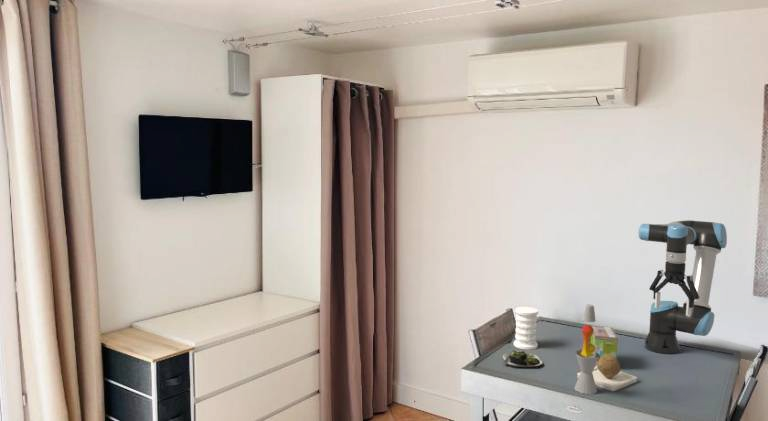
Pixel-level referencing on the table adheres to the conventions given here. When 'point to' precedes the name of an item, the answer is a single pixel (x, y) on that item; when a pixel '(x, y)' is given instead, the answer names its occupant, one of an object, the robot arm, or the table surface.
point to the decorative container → (526, 328)
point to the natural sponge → (608, 365)
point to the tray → (612, 380)
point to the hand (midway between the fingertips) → (672, 311)
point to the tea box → (604, 341)
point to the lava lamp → (587, 356)
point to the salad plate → (522, 360)
